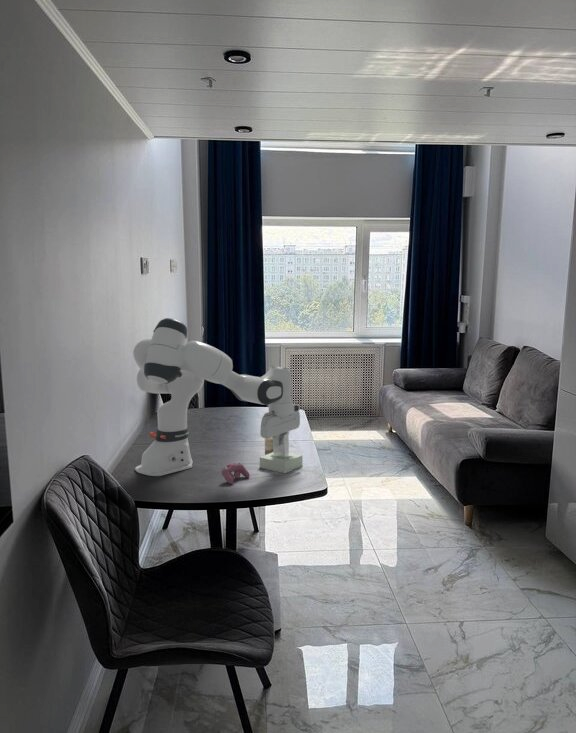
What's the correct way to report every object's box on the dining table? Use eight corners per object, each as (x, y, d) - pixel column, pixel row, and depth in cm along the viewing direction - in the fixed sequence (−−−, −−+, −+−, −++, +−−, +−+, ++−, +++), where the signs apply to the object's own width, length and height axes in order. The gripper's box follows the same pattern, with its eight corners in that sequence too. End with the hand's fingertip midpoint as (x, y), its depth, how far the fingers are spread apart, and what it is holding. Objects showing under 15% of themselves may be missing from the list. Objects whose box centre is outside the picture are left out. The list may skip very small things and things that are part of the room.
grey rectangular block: (284, 458, 222) (284, 435, 220) (273, 455, 225) (272, 433, 224) (288, 456, 224) (288, 433, 222) (277, 454, 227) (277, 431, 225)
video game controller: (243, 479, 216) (236, 461, 217) (251, 476, 213) (244, 458, 214) (224, 487, 208) (217, 468, 209) (232, 484, 205) (225, 465, 206)
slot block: (285, 473, 217) (284, 462, 217) (259, 467, 224) (259, 457, 224) (302, 465, 226) (302, 455, 225) (277, 460, 233) (277, 450, 232)
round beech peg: (272, 460, 233) (271, 440, 231) (262, 458, 236) (262, 438, 234) (280, 457, 237) (279, 438, 235) (270, 455, 240) (269, 436, 238)
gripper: (269, 415, 211) (270, 452, 213) (302, 405, 228) (302, 439, 230) (255, 412, 215) (256, 449, 217) (289, 403, 231) (290, 437, 233)
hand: (280, 444), depth 224 cm, fingers closed on grey rectangular block, 2 cm apart
